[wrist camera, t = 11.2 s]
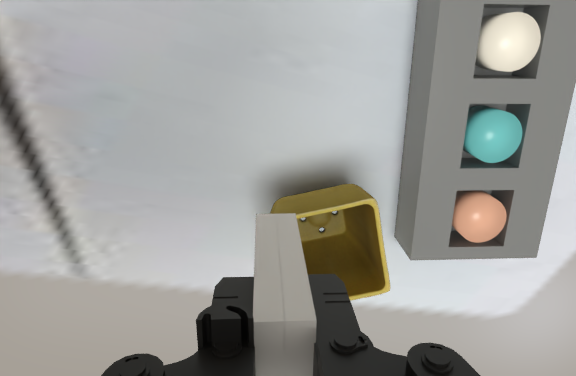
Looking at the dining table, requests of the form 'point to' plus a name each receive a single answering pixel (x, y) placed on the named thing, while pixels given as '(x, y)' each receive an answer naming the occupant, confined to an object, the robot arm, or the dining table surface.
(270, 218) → the robot arm
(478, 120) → the teal button
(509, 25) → the cream button
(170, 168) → the dining table surface
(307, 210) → the flower pot
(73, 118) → the dining table surface
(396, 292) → the dining table surface
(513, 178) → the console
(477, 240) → the terracotta button
